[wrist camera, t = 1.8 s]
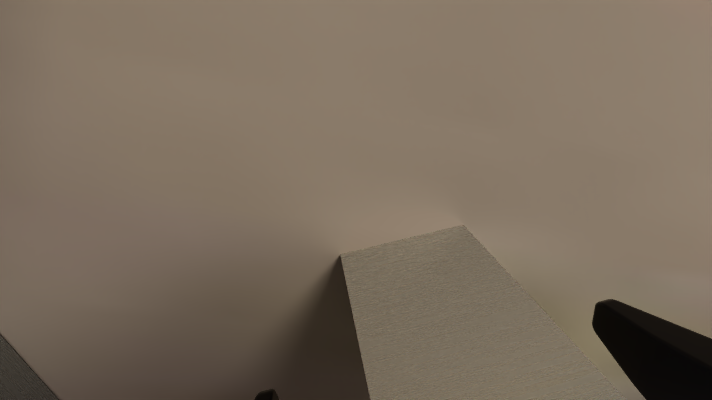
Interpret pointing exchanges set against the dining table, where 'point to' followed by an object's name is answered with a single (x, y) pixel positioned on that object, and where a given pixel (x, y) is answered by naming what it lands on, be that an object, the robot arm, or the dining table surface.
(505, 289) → the block
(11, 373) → the rail
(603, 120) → the dining table surface
